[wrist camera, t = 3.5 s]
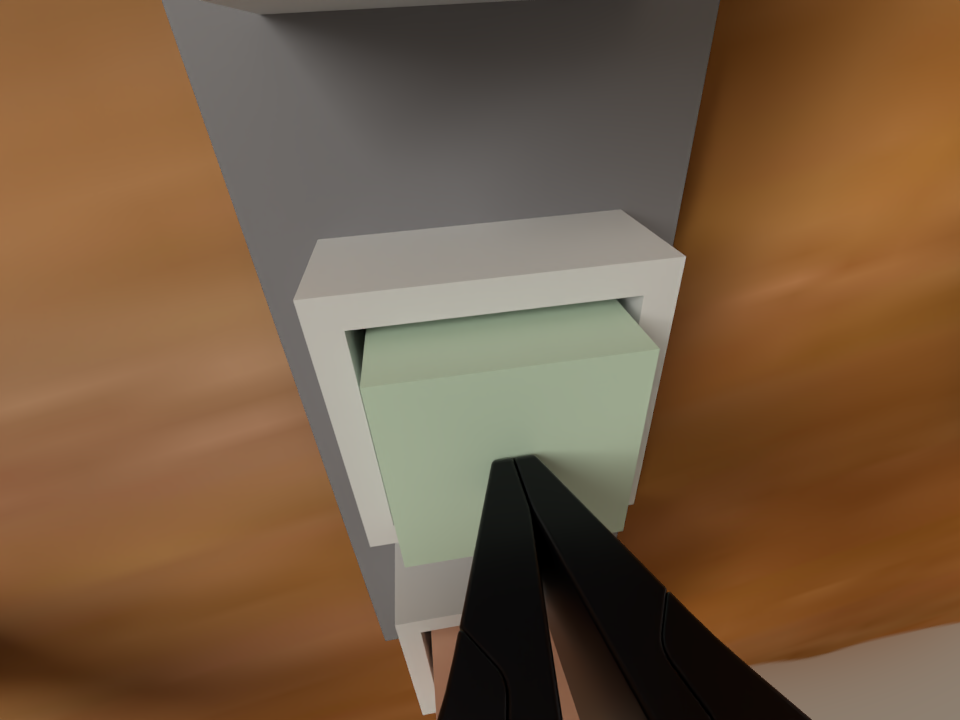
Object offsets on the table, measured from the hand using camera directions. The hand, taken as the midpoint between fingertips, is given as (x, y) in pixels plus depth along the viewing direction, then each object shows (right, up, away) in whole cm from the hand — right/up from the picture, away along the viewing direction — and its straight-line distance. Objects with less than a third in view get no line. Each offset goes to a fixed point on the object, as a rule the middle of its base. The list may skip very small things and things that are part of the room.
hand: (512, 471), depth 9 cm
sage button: (0, +2, +3) cm, 4 cm away
